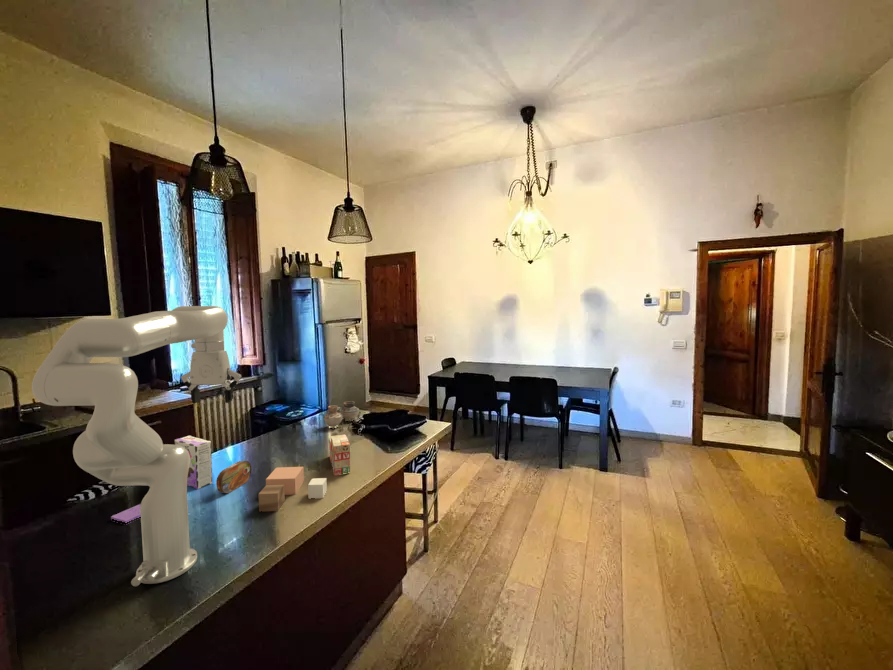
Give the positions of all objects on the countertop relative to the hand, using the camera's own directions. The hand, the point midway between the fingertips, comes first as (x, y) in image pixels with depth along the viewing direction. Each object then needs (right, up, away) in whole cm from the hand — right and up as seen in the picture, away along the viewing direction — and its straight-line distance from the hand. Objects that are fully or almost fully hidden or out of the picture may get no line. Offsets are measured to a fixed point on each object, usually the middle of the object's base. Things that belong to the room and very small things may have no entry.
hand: (212, 402), depth 119 cm
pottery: (+13, -30, +99) cm, 104 cm away
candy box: (-23, -35, +26) cm, 49 cm away
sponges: (-26, -37, +5) cm, 46 cm away
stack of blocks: (+27, -34, +43) cm, 61 cm away
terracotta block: (+14, -35, +22) cm, 44 cm away
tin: (-5, -35, +22) cm, 42 cm away
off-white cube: (+27, -36, +16) cm, 48 cm away
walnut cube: (+14, -36, +9) cm, 40 cm away
